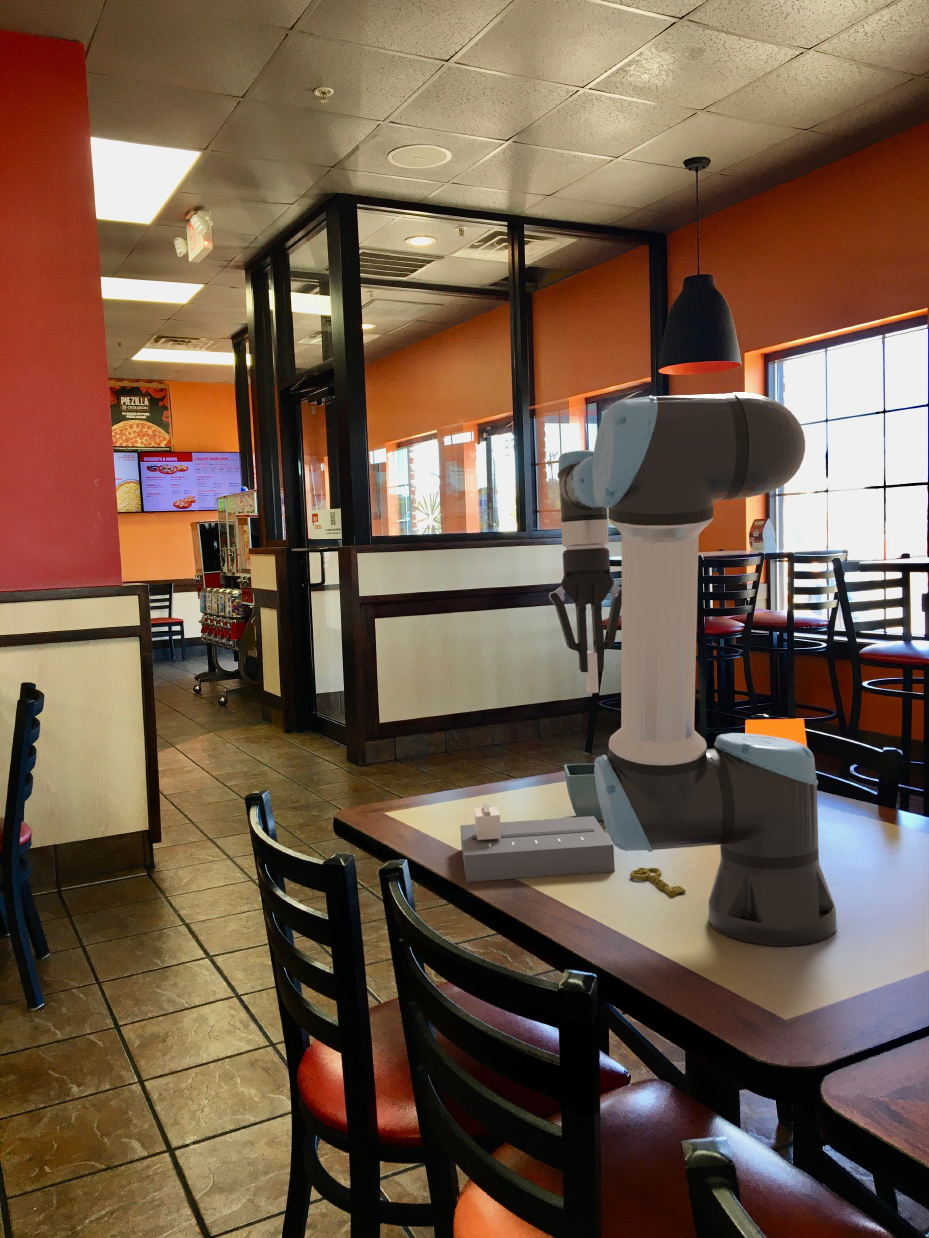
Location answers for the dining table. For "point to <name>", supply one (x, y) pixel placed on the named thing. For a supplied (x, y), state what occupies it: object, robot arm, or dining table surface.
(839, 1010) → the dining table surface
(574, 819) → the dimmer console
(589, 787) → the flower pot
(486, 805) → the slider cap
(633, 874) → the key
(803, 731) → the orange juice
